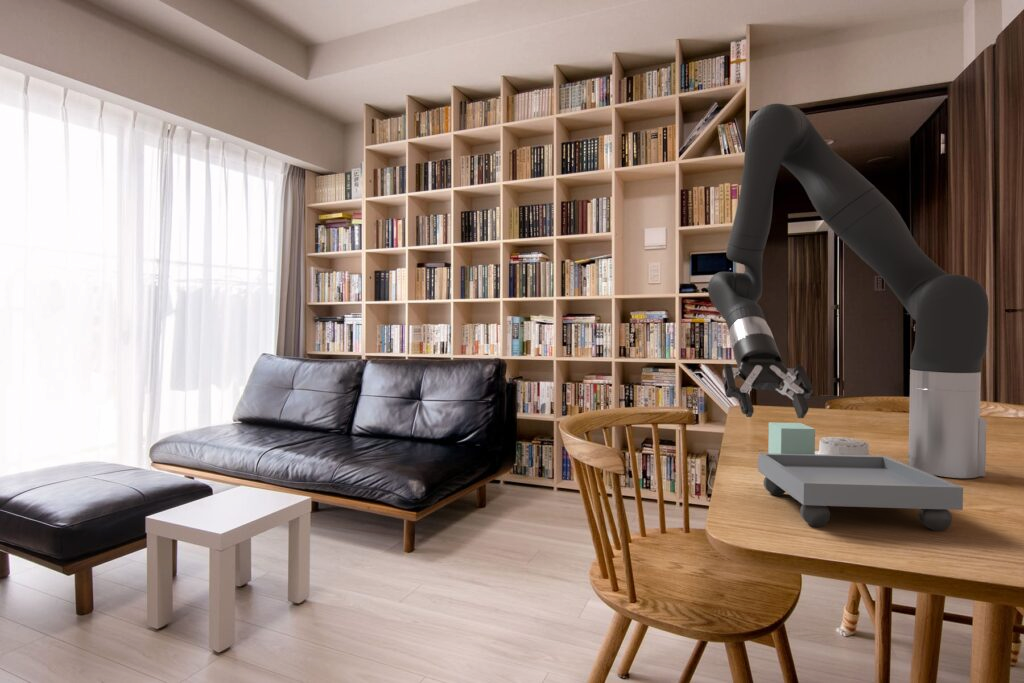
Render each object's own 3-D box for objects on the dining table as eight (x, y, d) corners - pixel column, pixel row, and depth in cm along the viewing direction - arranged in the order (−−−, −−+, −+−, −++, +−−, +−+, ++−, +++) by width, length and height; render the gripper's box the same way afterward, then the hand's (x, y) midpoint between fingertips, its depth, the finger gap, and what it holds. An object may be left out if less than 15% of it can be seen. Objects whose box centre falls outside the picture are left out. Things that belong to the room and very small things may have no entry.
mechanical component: (823, 470, 90) (887, 473, 88) (823, 445, 90) (888, 447, 88) (803, 456, 100) (861, 458, 98) (804, 433, 100) (861, 435, 98)
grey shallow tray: (884, 494, 76) (885, 455, 76) (962, 534, 62) (963, 487, 61) (757, 490, 78) (758, 453, 78) (803, 529, 63) (803, 483, 63)
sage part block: (799, 477, 85) (800, 422, 85) (814, 486, 80) (815, 428, 80) (768, 476, 86) (768, 422, 86) (780, 485, 81) (781, 428, 81)
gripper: (719, 331, 97) (738, 401, 86) (798, 332, 96) (828, 402, 85) (711, 358, 103) (728, 426, 92) (786, 358, 101) (812, 428, 90)
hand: (776, 415), depth 88 cm, fingers open, 8 cm apart
